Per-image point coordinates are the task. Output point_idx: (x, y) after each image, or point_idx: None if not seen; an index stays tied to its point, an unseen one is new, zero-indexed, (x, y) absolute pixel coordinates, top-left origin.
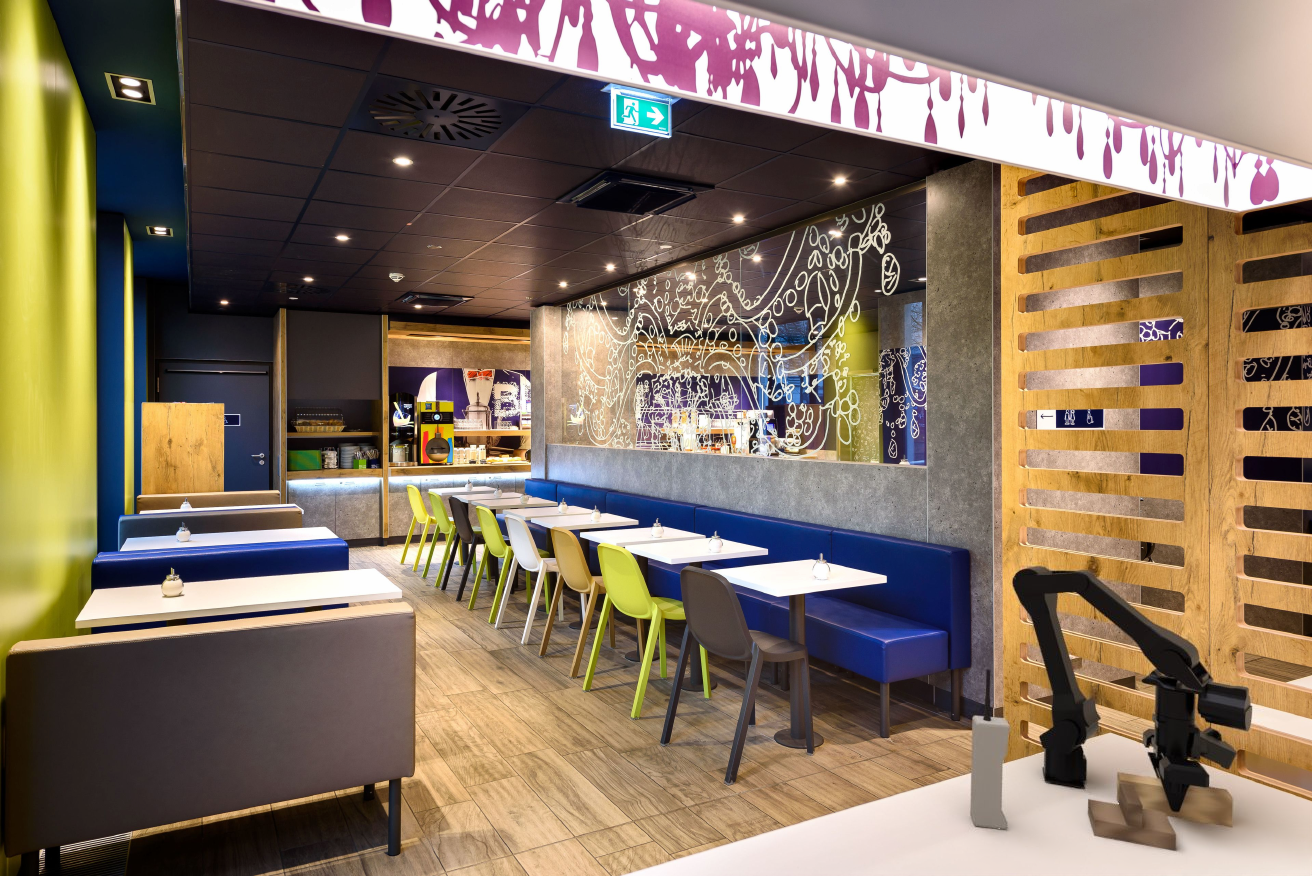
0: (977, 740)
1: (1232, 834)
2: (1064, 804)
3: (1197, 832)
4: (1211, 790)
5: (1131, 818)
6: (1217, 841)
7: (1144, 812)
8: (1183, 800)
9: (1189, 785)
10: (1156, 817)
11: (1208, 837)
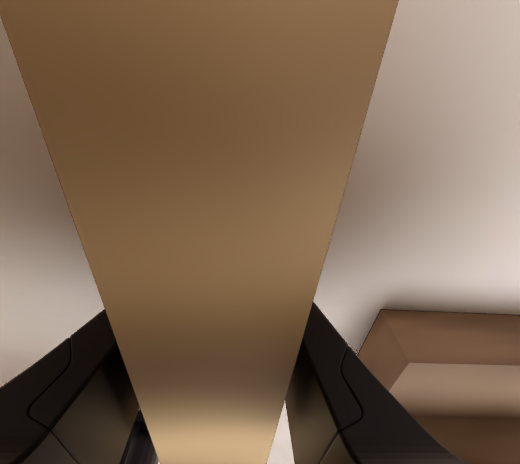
0: None
1: (425, 35)
2: (284, 435)
3: (408, 219)
4: (193, 144)
5: None
6: (500, 164)
7: (415, 403)
8: (325, 317)
9: (457, 461)
10: (455, 386)
11: (457, 190)
